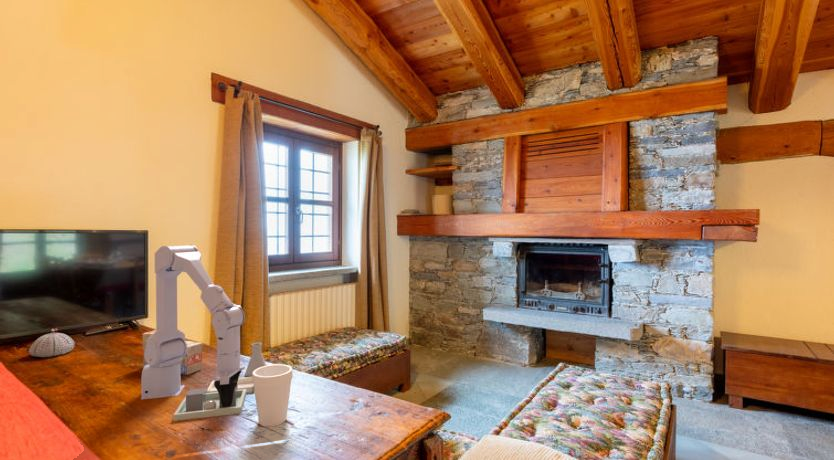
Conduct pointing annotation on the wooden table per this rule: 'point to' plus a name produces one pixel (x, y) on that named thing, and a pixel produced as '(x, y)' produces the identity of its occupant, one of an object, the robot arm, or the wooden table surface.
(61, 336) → the sea urchin shell
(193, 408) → the grey cube
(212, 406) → the pale pink ball
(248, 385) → the dish
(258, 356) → the flask
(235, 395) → the grey cube
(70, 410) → the wooden table surface
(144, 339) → the cardboard box
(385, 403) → the wooden table surface
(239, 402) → the bin
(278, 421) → the foam cup
